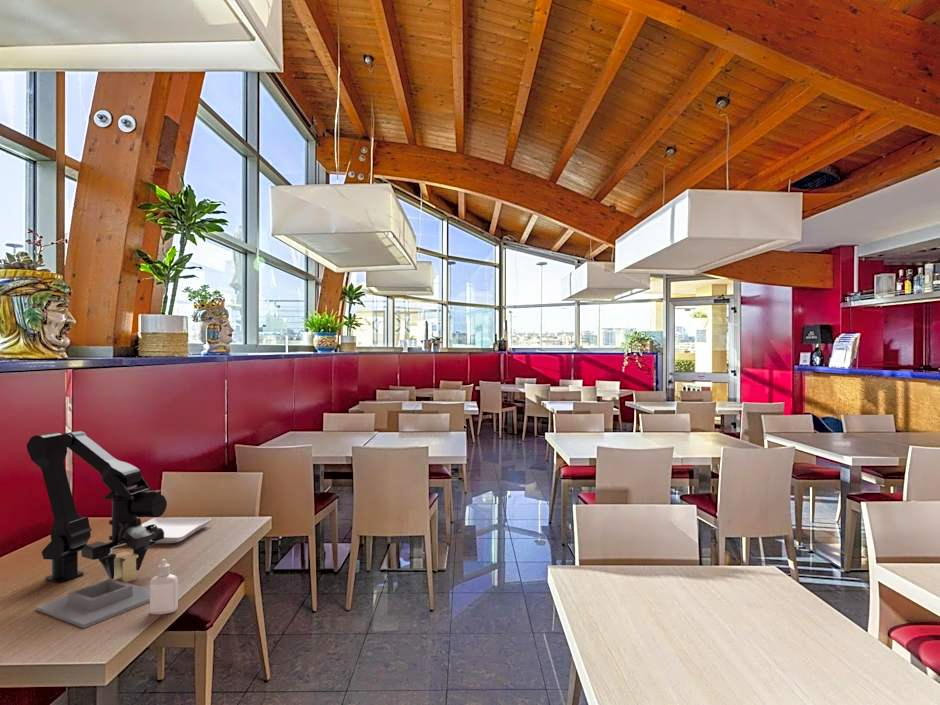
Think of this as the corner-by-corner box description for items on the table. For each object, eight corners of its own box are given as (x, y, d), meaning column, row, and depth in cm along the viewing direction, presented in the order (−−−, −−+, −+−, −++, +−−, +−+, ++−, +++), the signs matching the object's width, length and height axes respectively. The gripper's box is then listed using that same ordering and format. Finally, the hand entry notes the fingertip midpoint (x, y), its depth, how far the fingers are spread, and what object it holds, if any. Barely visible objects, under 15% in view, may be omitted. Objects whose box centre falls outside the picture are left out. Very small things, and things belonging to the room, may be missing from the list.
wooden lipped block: (111, 580, 147) (111, 555, 147) (124, 576, 150) (124, 551, 150) (125, 584, 144) (124, 558, 144) (138, 579, 147) (138, 554, 147)
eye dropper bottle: (164, 617, 125) (164, 564, 125) (146, 613, 127) (146, 561, 127) (180, 609, 129) (180, 557, 129) (162, 605, 131) (162, 555, 131)
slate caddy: (35, 610, 129) (35, 595, 129) (115, 582, 145) (114, 569, 145) (83, 628, 120) (83, 613, 120) (162, 596, 136) (162, 583, 136)
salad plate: (180, 547, 174) (180, 536, 174) (114, 547, 174) (114, 536, 174) (213, 526, 195) (213, 517, 195) (153, 527, 195) (153, 517, 195)
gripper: (105, 529, 135) (105, 593, 135) (176, 510, 152) (177, 567, 151) (80, 523, 140) (80, 585, 140) (151, 505, 157) (151, 561, 156)
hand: (124, 574), depth 147 cm, fingers open, 6 cm apart
